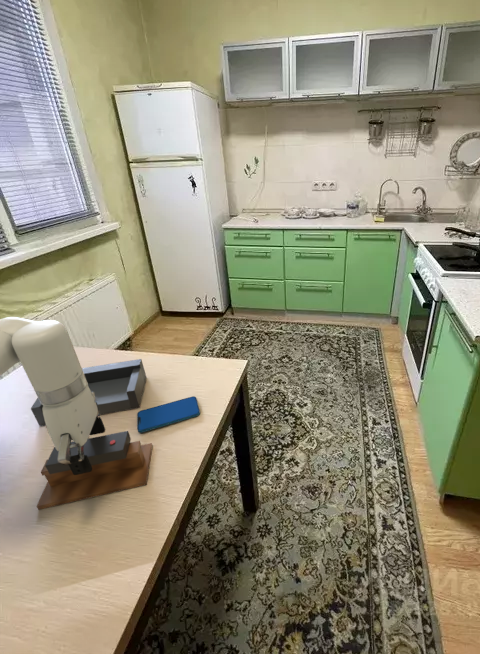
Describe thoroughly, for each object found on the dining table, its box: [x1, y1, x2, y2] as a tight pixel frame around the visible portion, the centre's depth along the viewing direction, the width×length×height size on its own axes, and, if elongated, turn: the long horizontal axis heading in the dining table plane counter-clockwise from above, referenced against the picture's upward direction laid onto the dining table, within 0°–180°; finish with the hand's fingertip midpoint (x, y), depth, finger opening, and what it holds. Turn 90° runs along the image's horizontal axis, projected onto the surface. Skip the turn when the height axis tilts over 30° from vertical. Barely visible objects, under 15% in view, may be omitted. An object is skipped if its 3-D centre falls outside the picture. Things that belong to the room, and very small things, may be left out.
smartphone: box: [136, 395, 201, 434], centre depth 84 cm, size 7×1×15 cm
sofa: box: [30, 358, 147, 427], centre depth 89 cm, size 24×13×7 cm, turn 104°
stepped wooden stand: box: [36, 440, 153, 511], centre depth 68 cm, size 20×10×6 cm, turn 104°
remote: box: [45, 430, 132, 474], centre depth 66 cm, size 14×5×3 cm, turn 104°
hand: (90, 451), depth 66 cm, fingers open, 9 cm apart
